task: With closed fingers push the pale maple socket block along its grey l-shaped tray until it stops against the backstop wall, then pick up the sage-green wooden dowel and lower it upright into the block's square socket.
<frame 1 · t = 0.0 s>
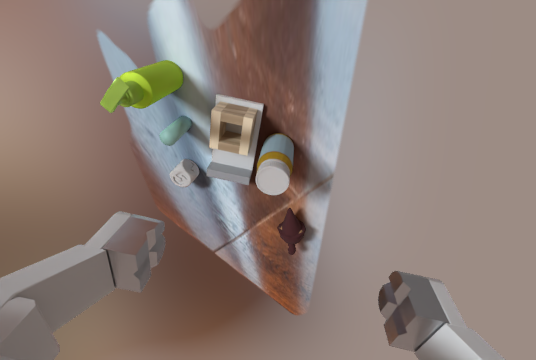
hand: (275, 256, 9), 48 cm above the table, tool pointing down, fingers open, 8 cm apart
grey l-shaped tray: (235, 137, 59), on the table
soap dispenser: (171, 73, 54), on the table
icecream: (292, 221, 71), on the table
block: (233, 128, 54), point 4 cm above the table, slide at 0.0 cm
die: (188, 167, 66), on the table
dowel: (184, 122, 59), on the table
bottle: (278, 146, 60), on the table
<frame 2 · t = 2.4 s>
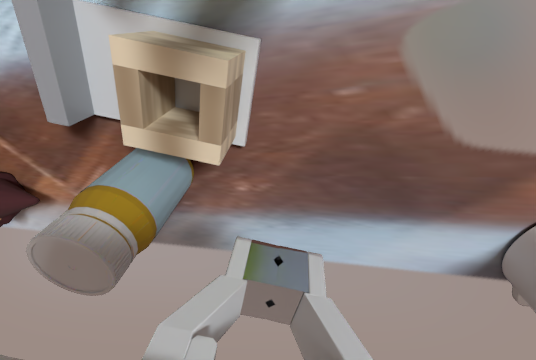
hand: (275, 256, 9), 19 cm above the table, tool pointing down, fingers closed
grey l-shaped tray: (162, 76, 25), on the table
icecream: (15, 183, 35), on the table
block: (185, 97, 22), point 4 cm above the table, slide at 0.0 cm
bottle: (167, 164, 31), on the table
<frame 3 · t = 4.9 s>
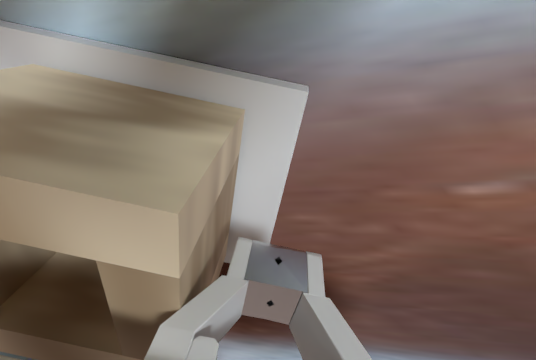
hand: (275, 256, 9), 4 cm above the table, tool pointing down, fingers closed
grey l-shaped tray: (103, 150, 13), on the table
block: (103, 220, 9), point 4 cm above the table, slide at 1.1 cm, touching gripper
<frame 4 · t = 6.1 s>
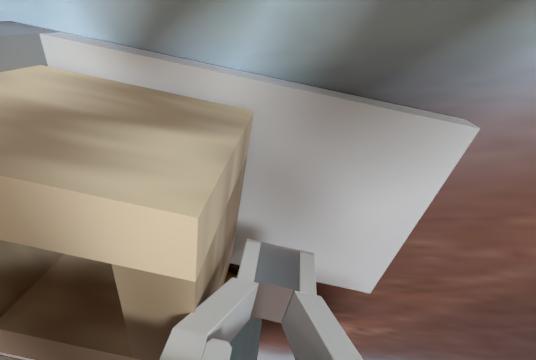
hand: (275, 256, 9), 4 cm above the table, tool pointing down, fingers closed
grey l-shaped tray: (226, 177, 13), on the table
block: (112, 222, 9), point 4 cm above the table, slide at 7.0 cm, touching gripper, grey l-shaped tray
bottle: (215, 292, 18), on the table
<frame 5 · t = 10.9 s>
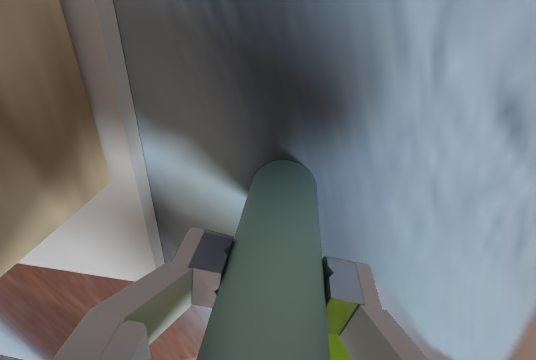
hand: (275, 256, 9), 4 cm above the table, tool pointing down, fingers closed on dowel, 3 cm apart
grey l-shaped tray: (45, 140, 13), on the table
soap dispenser: (309, 309, 18), on the table
dowel: (283, 188, 13), on the table, touching gripper
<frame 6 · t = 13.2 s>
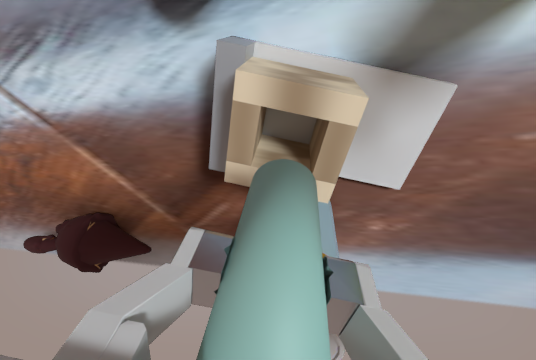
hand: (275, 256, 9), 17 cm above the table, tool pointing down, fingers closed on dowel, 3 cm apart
grey l-shaped tray: (323, 118, 24), on the table
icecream: (111, 222, 34), on the table
block: (289, 128, 20), point 4 cm above the table, slide at 7.0 cm
dowel: (283, 188, 13), point 13 cm above the table, touching gripper
bottle: (298, 202, 29), on the table
when the fingers open (8 cm above the table, at t = 15.4 s): dowel drops 3 cm, resting on grey l-shaped tray.
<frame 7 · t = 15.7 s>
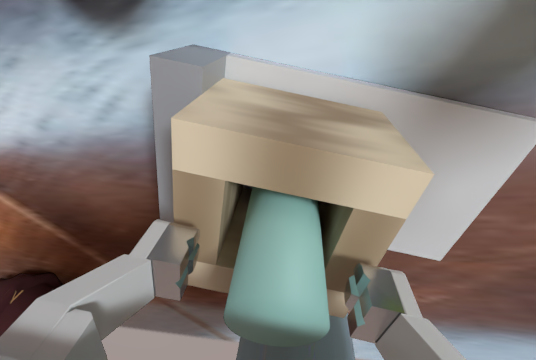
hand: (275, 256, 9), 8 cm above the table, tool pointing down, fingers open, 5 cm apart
grey l-shaped tray: (334, 164, 16), on the table
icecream: (55, 279, 27), on the table
block: (281, 194, 12), point 4 cm above the table, slide at 7.0 cm
dowel: (286, 162, 15), point 1 cm above the table, touching grey l-shaped tray
bottle: (297, 266, 22), on the table
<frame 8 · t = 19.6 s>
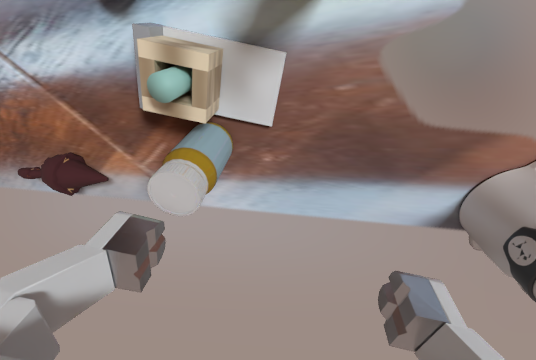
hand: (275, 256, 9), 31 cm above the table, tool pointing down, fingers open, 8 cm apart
grey l-shaped tray: (216, 77, 36), on the table
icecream: (82, 163, 48), on the table
block: (183, 79, 33), point 4 cm above the table, slide at 7.0 cm
dowel: (193, 74, 36), point 1 cm above the table, touching grey l-shaped tray
bottle: (213, 141, 42), on the table
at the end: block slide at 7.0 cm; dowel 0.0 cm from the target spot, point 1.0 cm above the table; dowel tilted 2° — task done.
